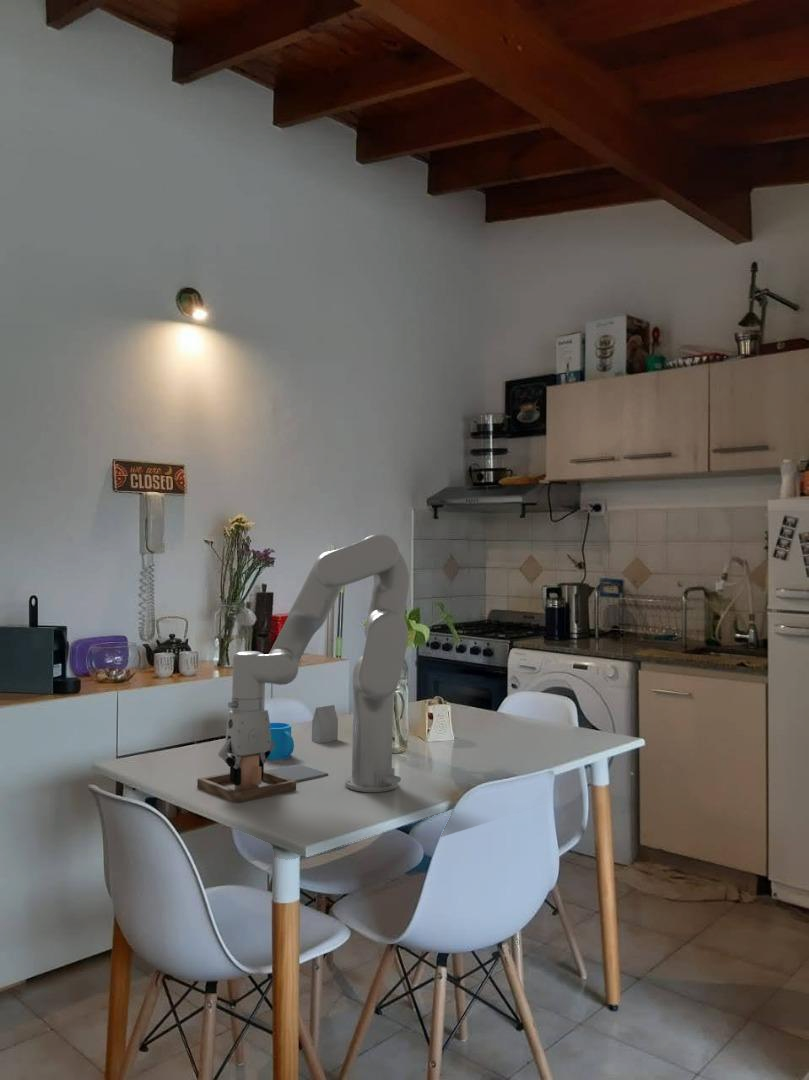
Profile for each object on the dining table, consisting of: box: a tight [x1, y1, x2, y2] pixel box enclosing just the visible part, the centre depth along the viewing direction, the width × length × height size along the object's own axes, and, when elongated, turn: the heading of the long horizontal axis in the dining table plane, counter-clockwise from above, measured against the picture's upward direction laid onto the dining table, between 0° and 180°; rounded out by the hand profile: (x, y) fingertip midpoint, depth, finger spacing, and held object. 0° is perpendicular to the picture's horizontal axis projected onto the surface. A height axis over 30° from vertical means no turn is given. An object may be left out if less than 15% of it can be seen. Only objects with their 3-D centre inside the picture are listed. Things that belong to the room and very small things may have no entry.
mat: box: [265, 763, 329, 783], centre depth 222 cm, size 12×12×1 cm
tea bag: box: [311, 704, 339, 744], centre depth 261 cm, size 4×7×10 cm, turn 136°
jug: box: [234, 754, 262, 792], centre depth 208 cm, size 8×6×8 cm
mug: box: [266, 722, 295, 760], centre depth 240 cm, size 12×8×8 cm
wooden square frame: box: [196, 770, 297, 804], centre depth 209 cm, size 16×16×2 cm
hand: (246, 781), depth 209 cm, fingers closed on jug, 5 cm apart
